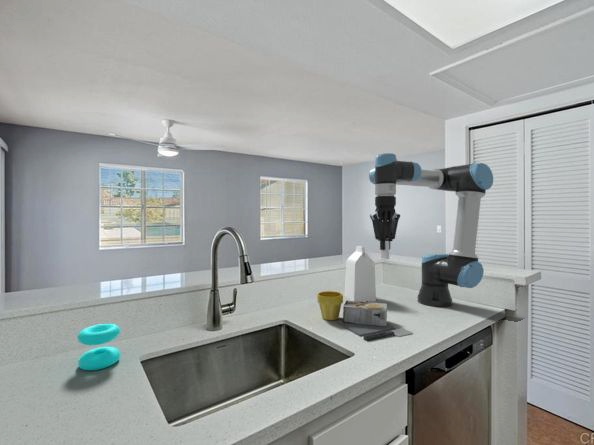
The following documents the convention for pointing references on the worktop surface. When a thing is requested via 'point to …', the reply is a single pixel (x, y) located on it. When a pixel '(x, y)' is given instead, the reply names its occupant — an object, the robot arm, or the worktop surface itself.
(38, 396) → the worktop surface
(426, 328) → the worktop surface
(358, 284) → the milk
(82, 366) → the donuts
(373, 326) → the mat
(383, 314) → the coffee box
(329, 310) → the plant pot
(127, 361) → the worktop surface
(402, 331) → the turner
